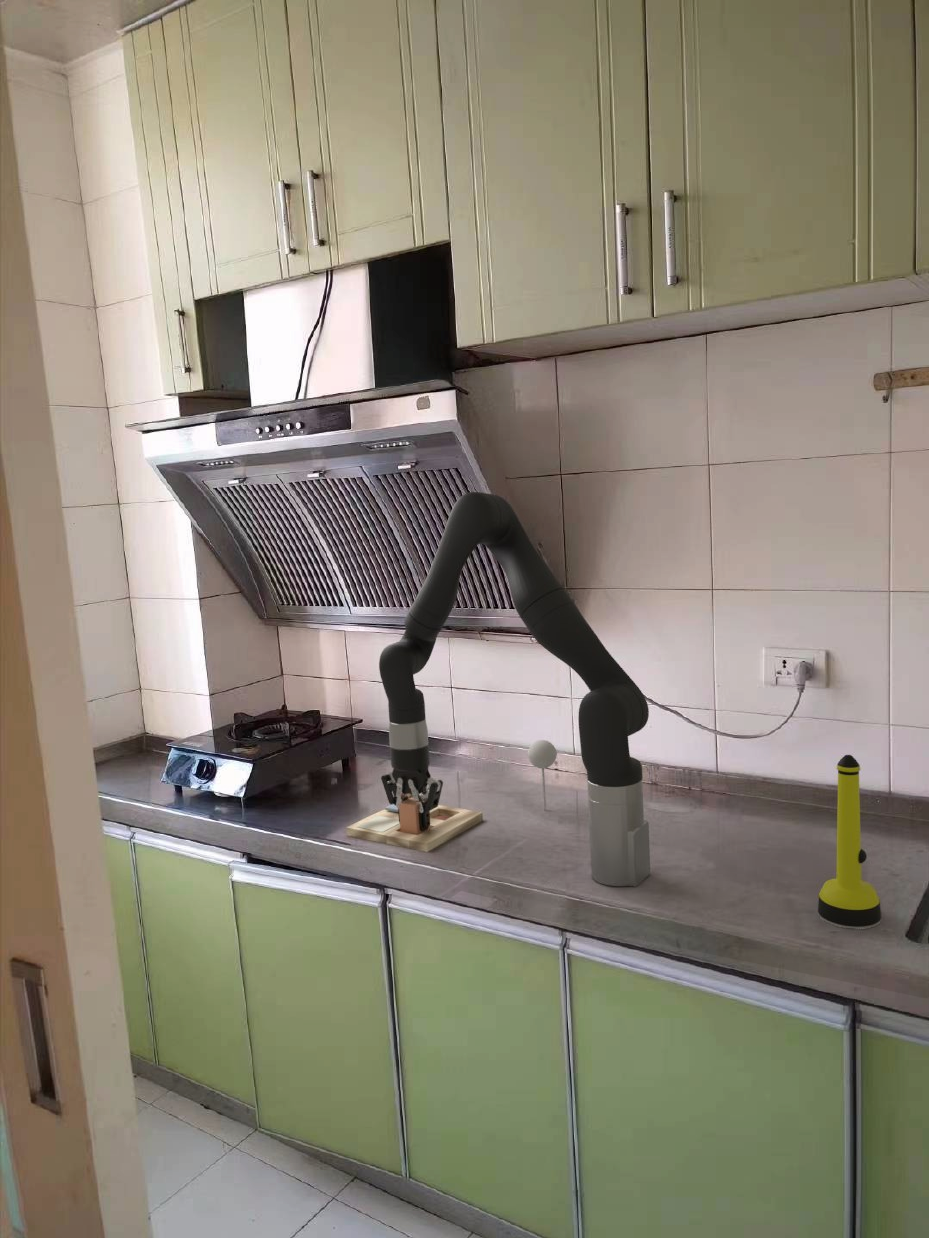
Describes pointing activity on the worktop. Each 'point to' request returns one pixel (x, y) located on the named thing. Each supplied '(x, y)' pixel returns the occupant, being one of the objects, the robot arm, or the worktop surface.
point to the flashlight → (849, 861)
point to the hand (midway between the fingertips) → (414, 827)
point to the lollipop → (542, 758)
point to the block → (409, 817)
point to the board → (388, 831)
